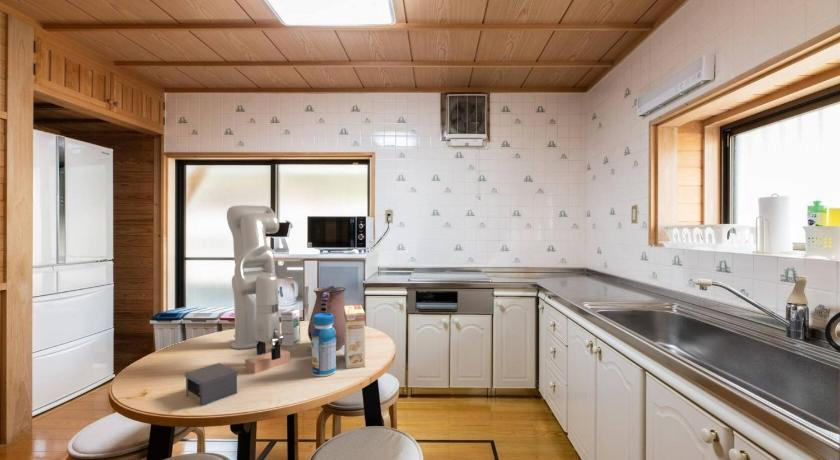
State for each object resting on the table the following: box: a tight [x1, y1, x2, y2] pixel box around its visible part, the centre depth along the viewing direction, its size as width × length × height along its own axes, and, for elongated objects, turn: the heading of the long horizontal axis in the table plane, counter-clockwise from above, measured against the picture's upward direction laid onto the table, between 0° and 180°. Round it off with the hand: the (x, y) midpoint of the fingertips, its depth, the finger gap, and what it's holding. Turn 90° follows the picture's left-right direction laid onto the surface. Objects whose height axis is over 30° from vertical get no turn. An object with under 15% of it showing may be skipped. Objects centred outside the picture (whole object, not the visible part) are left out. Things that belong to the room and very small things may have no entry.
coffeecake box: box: [343, 304, 366, 369], centre depth 140 cm, size 15×7×20 cm, turn 14°
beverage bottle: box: [310, 313, 337, 377], centre depth 129 cm, size 8×8×20 cm
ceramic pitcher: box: [307, 285, 347, 351], centre depth 153 cm, size 18×21×25 cm
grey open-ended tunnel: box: [184, 362, 239, 407], centre depth 113 cm, size 12×10×7 cm
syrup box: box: [280, 308, 301, 347], centre depth 161 cm, size 6×6×14 cm
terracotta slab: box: [244, 348, 291, 375], centre depth 136 cm, size 6×14×4 cm, turn 145°
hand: (268, 356), depth 135 cm, fingers open, 9 cm apart
